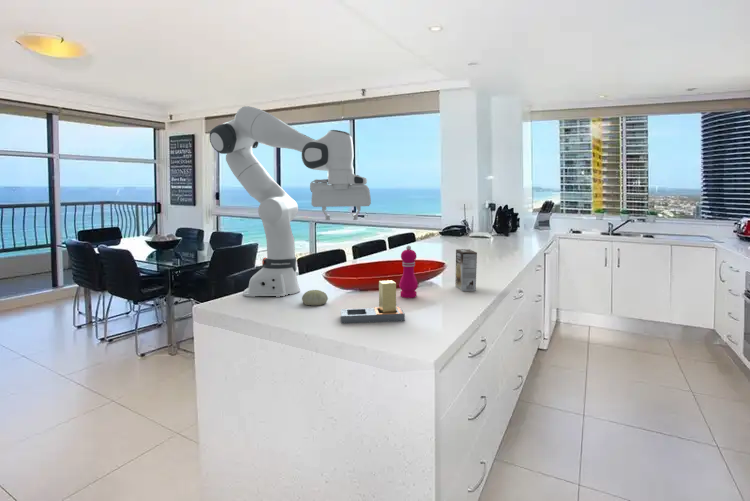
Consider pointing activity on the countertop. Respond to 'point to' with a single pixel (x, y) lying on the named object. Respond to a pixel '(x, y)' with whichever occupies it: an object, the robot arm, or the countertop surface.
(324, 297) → the sea urchin shell
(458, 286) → the coffee box
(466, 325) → the countertop surface
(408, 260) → the pepper mill
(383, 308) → the brass block
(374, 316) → the grey slotted board
